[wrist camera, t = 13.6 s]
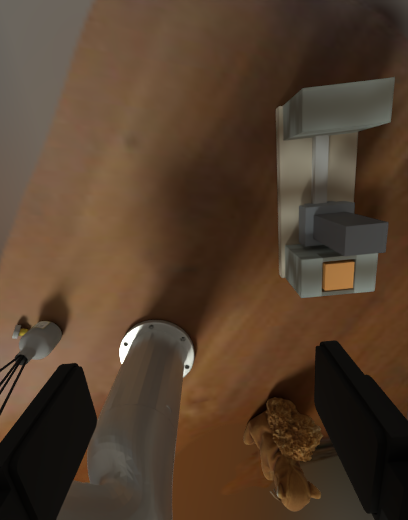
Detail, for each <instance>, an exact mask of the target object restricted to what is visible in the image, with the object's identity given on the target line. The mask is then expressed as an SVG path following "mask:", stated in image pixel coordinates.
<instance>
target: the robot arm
mask: <svg viewBox="0 0 408 520" xmlns="http://www.w3.org/2000/svg"><path fill="white" fill-rule="evenodd" d="M194 354H195V352H194V345H193V343H192V340H191V339H190V337H189V335H188V334H187V333H186V332H185V331H184V330H183V329H182V328H180V327H179V326H177V325H175V324H173V323H171V322H167V321H164V320H148V321H144V322H141V323H139V324H136V325H135V326H133V327H132V328H131V329H130V330H129V331H128V332H127V333H126V334H125V336H124V338H123V340H122V342H121V345H120V349H119V356H120V360H121V363H122V365H121V368H120V370H119V372H118V374H117V377H116V379H115V381H114V383H113V386H112V388H111V390H110V392H109V395H108V397H107V399H106V402H105V404H104V406H103V408H102V411H101V413H100V415H99V417H98V420H97V416H96V413H95V409H94V406H93V402H92V399H91V396H90V392H89V389H88V385H87V382H86V378H85V375H84V372H83V369H82V367H79V366H78V364H77V363H72V364H62V365H60V366H59V367H58V368H57V370H56V371H55V372H54V373H53V375H52V376H51V377H50V379H49V380H48V381H47V383H46V384H45V385H44V386H43V388H42V389H41V390H40V392H39V393H38V394H37V396H36V397H35V398H34V400H33V401H32V402H31V403H30V405H29V406H28V407H27V409H26V410H25V411H24V413H23V414H22V415H21V417H20V418H19V419H18V420H17V422H16V423H15V424H14V426H13V427H12V428H11V430H10V431H9V432H8V434H7V435H6V436H5V437H4V439H3V440H2V441H1V443H0V520H172V480H173V466H174V455H175V446H176V437H177V428H178V419H179V410H180V400H181V391H182V382H183V378H184V377H185V376H186V375H187V374H188V372H189V371H190V370H191V368H192V365H193V362H194ZM314 402H315V407H316V410H317V412H318V414H319V416H320V418H321V420H322V423H323V425H324V427H325V429H326V431H327V433H328V435H329V437H330V439H331V441H332V443H333V446H334V448H335V450H336V452H337V454H338V456H339V458H340V460H341V462H342V464H343V467H344V469H345V471H346V473H347V475H348V477H349V479H350V481H351V483H352V485H353V487H354V490H355V492H356V494H357V496H358V498H359V500H360V502H361V504H362V506H363V508H364V510H365V511H366V513H372V515H373V517H374V519H375V520H408V421H407V419H406V418H405V417H404V416H403V415H402V413H401V412H400V411H399V410H398V409H397V407H396V406H395V405H394V404H393V403H392V401H391V400H390V399H389V398H388V397H387V395H386V394H385V393H384V392H383V390H382V389H381V388H380V387H379V386H378V384H377V383H376V382H375V381H374V380H373V379H372V378H371V377H370V376H369V375H364V374H363V372H362V371H361V370H360V369H359V367H358V366H357V365H356V364H355V362H354V361H353V360H352V359H351V357H350V356H349V355H348V354H347V352H346V351H345V350H344V349H343V347H342V346H341V345H340V344H339V342H337V341H324V342H321V343H320V346H316V353H315V393H314ZM87 447H88V451H87V465H88V474H89V479H90V483H86V482H85V483H82V482H78V481H74V480H73V479H74V477H75V475H76V473H77V470H78V468H79V466H80V463H81V461H82V459H83V456H84V454H85V452H86V449H87Z"/></svg>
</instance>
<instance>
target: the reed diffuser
mask: <svg viewBox="0 0 408 520" xmlns="http://www.w3.org/2000/svg"><path fill="white" fill-rule="evenodd" d="M18 336H22V338H21V339H20V342H19V348H20V352H19V353H18V354H17V355H16V356H15V359H13V360H12V361H11V362H9V363H8V364H7V365H5V366H4V367H3V368H1V369H0V372H1V371H2V370H3V369H5V368H6V367H7V366H9V365H10V364H11V363H13V362H14V361H16V363H15V364H14V365H13V367H12V368H11V369H10V371H9V372H8V373H7V375H6V376H5V377H4V379H3V380H2V381H1V382H0V386H1V385H2V383H3V382H4V381H5V380H6V378H7V377H8V376H9V374H10V373H11V372H12V373H11V375H10V376H9V378H8V379H7V381H6V382H5V384H4V386H3V387H2V389H1V390H0V394H1V393H2V391H3V390H4V388H5V386H6V385H7V383H8V382H9V380H10V378H11V377H12V375H13V374H14V372H15V371H16V369H17V367H18V366H19V365H23V366H22V368H21V370H20V371H19V373H18V375H17V377H16V379H15V381H14V383H13V385H12V387H11V389H10V391H9V393H8V395H7V397H6V399H5V401H4V403H3V405H2V407H1V409H0V415H1V413H2V411H3V409H4V407H5V405H6V403H7V401H8V399H9V397H10V395H11V393H12V390H13V388H14V386H15V384H16V382H17V380H18V378H19V376H20V374H21V372H22V370H23V368H24V366H25V365H26V364H27V363H28V362H29V361H30V360H31V359H42V358H44V357H46V356H47V355H48V354H50V352H51V351H52V350H53V349H54V348H55V346H56V345H57V344H58V343H59V341H60V340H61V337H62V333H61V330H60V328H59V327H58V326H57V325H56V324H54V323H52V322H49V321H40V322H38V323H37V324H36V325H34V326H33V327H32V328H31V329H30V330H29V331H28V329H22V328H21V325H16V327H15V330H14V333H13V336H12V338H16V339H17V338H18ZM15 366H16V367H15ZM13 369H14V370H13ZM12 370H13V371H12Z"/></svg>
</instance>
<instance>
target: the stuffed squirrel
mask: <svg viewBox="0 0 408 520" xmlns="http://www.w3.org/2000/svg"><path fill="white" fill-rule="evenodd" d="M266 404H267V405H266V406H267V410H265V411H264V412H263V413H261V414H259V415H258V416H256V417H255V418H253V419H252V420H250V421H249V423H248V425H247V427H246V429H245V432H244V437H243V441H244V443H246V444H247V445H252V444H254V443H256V445H257V446H258V448H259V449H260V457H261V465H262V471H263V473H264V476H265V477H266V478H267V479H268V480H273V479H274V482H275V486H276V489H277V493H276V491H275V489H273V491H274V492H275V494H276V495H277V497H278V498H279V499H278V498H277V497H275V496H274V494H273V493H272V492H271V491H270V493H271V494H272V495H273V496H274V497H275V498H276V499H278V500H279V501H281V502H282V503H283V504H284V506H286V508H287V509H289V510H291V511H299V510H301V509H302V508H303V507H304V506H305V505H306V504H308V503H309V501H310V498H311V497H313V498H316V499H319V498H320V496H321V493H320V491H319V490H318V489H317V488H316V487H315V486H314V485H313V484H312V483H310V482H309V481H307V479H306V478H305V476H304V473H303V471H302V469H301V468H300V464H299V463H300V461H304V462H306V461H307V460H308V461H309V460H311V459H312V457H311V456H310V455H312V454H313V453H311V452H312V451H315V447H316V446H317V445H319V444H320V439H321V438H322V437H323V435H322V433H321V431H320V430H321V429H320V428H319V427H320V426H317V425H315V423H314V421H313V420H312V418H311V417H309V416H308V415H304V414H300V413H298V412H297V409H296V406H295V404H294V403H293V402H291V401H290V400H284V399H282V398H276V397H274V398H271V399H269V400H267V403H266Z"/></svg>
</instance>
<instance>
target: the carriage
mask: <svg viewBox="0 0 408 520" xmlns="http://www.w3.org/2000/svg"><path fill="white" fill-rule="evenodd" d="M354 208H355V203H354V202H349V201H338V202H335V201H327V203H319V204H311V203H307V204H304V205H300V206H299V243H301V244H302V245H304V246H305V247H307V246H317V245H326V246H327V247H329V248H331V249H333V250H334V251H336V252H338V253H339V254H341V255H343V256H353V255H364V254H374V253H384V252H385V251H386V241H387V232H388V222H385V221H381V220H377V219H373V218H369V217H365V216H361V215H358V214H354Z"/></svg>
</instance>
